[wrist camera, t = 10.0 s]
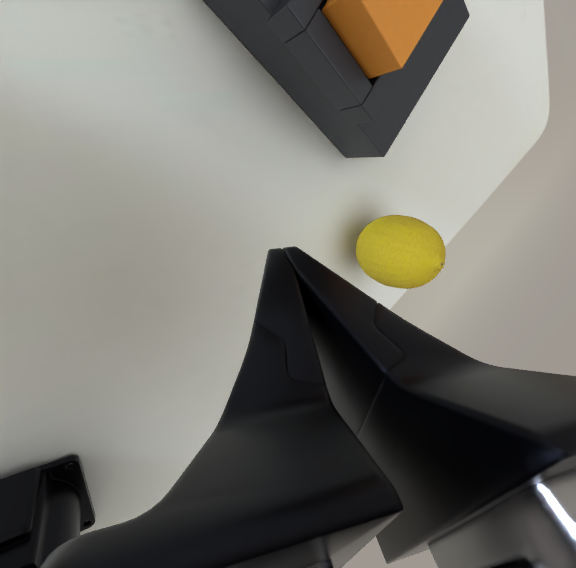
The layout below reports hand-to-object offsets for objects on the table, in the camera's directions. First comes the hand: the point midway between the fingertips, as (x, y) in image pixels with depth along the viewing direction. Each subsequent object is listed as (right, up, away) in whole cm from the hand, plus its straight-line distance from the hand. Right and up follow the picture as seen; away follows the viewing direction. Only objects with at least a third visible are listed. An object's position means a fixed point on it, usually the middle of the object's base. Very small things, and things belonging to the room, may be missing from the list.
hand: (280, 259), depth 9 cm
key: (+4, +13, +6) cm, 15 cm away
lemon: (+7, +3, +18) cm, 20 cm away
